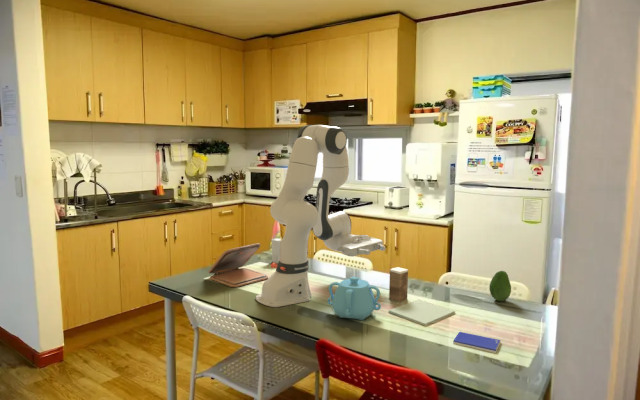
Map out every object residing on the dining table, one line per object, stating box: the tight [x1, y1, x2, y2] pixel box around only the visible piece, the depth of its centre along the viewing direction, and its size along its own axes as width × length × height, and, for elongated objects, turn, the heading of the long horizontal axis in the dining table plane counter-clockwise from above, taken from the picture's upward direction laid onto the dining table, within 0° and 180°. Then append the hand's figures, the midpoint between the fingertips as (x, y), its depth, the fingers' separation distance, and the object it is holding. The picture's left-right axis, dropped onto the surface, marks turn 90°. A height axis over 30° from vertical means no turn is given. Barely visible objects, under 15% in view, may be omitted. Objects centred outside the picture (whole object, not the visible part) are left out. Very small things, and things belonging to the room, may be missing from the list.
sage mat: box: [388, 299, 456, 327], centre depth 163 cm, size 18×16×1 cm
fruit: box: [489, 270, 512, 302], centre depth 175 cm, size 8×8×12 cm
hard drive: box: [452, 331, 501, 354], centre depth 138 cm, size 2×8×12 cm
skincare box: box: [271, 237, 282, 265], centre depth 230 cm, size 6×4×12 cm
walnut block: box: [388, 266, 409, 303], centre depth 176 cm, size 5×5×12 cm
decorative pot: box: [327, 276, 382, 321], centre depth 160 cm, size 16×16×14 cm
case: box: [208, 242, 269, 288], centre depth 202 cm, size 20×21×16 cm
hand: (376, 250), depth 184 cm, fingers open, 8 cm apart
